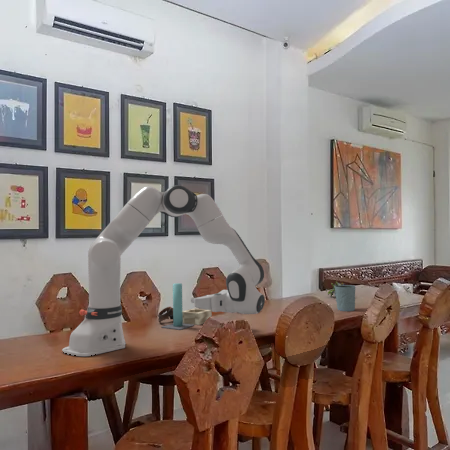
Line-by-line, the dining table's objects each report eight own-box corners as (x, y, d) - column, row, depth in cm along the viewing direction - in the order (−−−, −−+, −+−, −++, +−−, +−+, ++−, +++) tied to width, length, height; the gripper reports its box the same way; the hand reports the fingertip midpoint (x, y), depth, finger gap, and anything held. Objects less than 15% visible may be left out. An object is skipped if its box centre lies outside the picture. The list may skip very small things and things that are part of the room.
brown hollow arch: (182, 325, 199) (172, 310, 197) (163, 335, 200) (153, 320, 198) (183, 314, 210) (175, 299, 209) (166, 323, 211) (157, 308, 209)
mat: (179, 330, 187) (179, 329, 187) (161, 327, 193) (161, 326, 193) (194, 325, 196) (194, 324, 196) (176, 323, 201) (176, 322, 201)
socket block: (198, 325, 197) (198, 313, 197) (180, 322, 202) (180, 311, 202) (211, 321, 205) (211, 310, 205) (194, 319, 211) (194, 308, 211)
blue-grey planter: (355, 312, 221) (354, 287, 221) (334, 311, 224) (333, 287, 224) (356, 308, 231) (355, 285, 231) (336, 307, 234) (335, 284, 234)
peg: (178, 327, 192) (178, 284, 192) (171, 326, 194) (170, 284, 194) (184, 325, 195) (183, 283, 195) (177, 324, 197) (176, 283, 197)
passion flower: (343, 306, 270) (354, 290, 266) (332, 305, 263) (343, 289, 259) (332, 294, 278) (342, 278, 274) (320, 292, 271) (331, 276, 267)
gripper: (240, 290, 189) (212, 288, 197) (212, 296, 172) (183, 294, 180) (240, 305, 189) (213, 302, 197) (212, 312, 172) (183, 309, 180)
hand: (198, 298), depth 188 cm, fingers open, 8 cm apart
